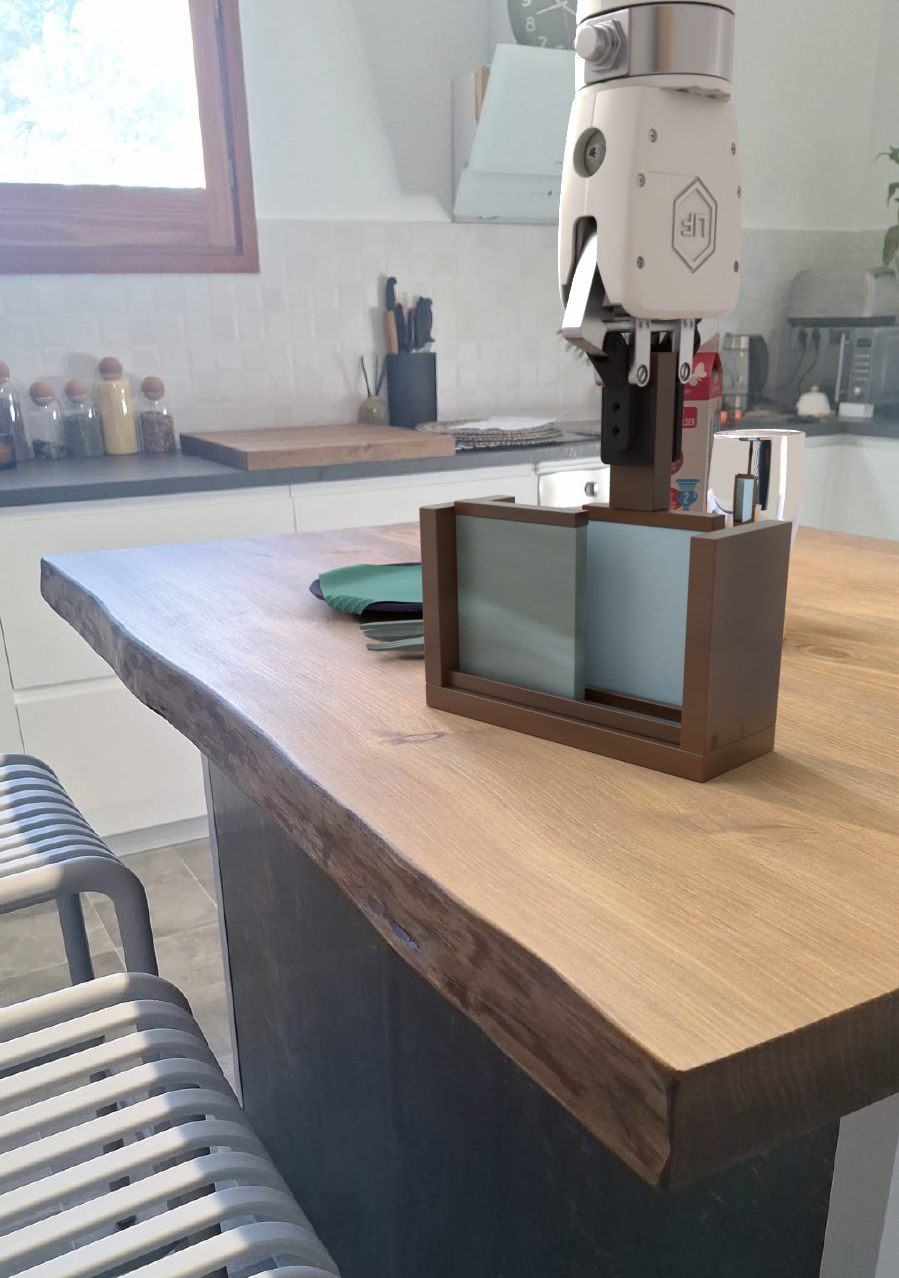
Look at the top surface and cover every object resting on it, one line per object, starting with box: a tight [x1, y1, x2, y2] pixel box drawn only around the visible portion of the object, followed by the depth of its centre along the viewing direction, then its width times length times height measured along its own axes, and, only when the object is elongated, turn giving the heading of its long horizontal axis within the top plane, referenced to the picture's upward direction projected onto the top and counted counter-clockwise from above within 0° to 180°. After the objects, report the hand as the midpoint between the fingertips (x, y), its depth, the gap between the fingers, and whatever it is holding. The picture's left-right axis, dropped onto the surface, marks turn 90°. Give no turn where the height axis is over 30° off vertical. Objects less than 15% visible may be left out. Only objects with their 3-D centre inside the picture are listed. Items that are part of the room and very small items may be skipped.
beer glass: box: [706, 428, 807, 640], centre depth 85 cm, size 7×7×15 cm
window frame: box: [418, 494, 792, 783], centre depth 66 cm, size 7×21×13 cm, turn 44°
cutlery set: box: [308, 561, 424, 652], centre depth 98 cm, size 20×30×2 cm, turn 8°
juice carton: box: [660, 330, 724, 513], centre depth 97 cm, size 7×7×22 cm
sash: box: [581, 352, 725, 706], centre depth 63 cm, size 2×9×19 cm, turn 44°
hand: (640, 460), depth 62 cm, fingers closed on sash
